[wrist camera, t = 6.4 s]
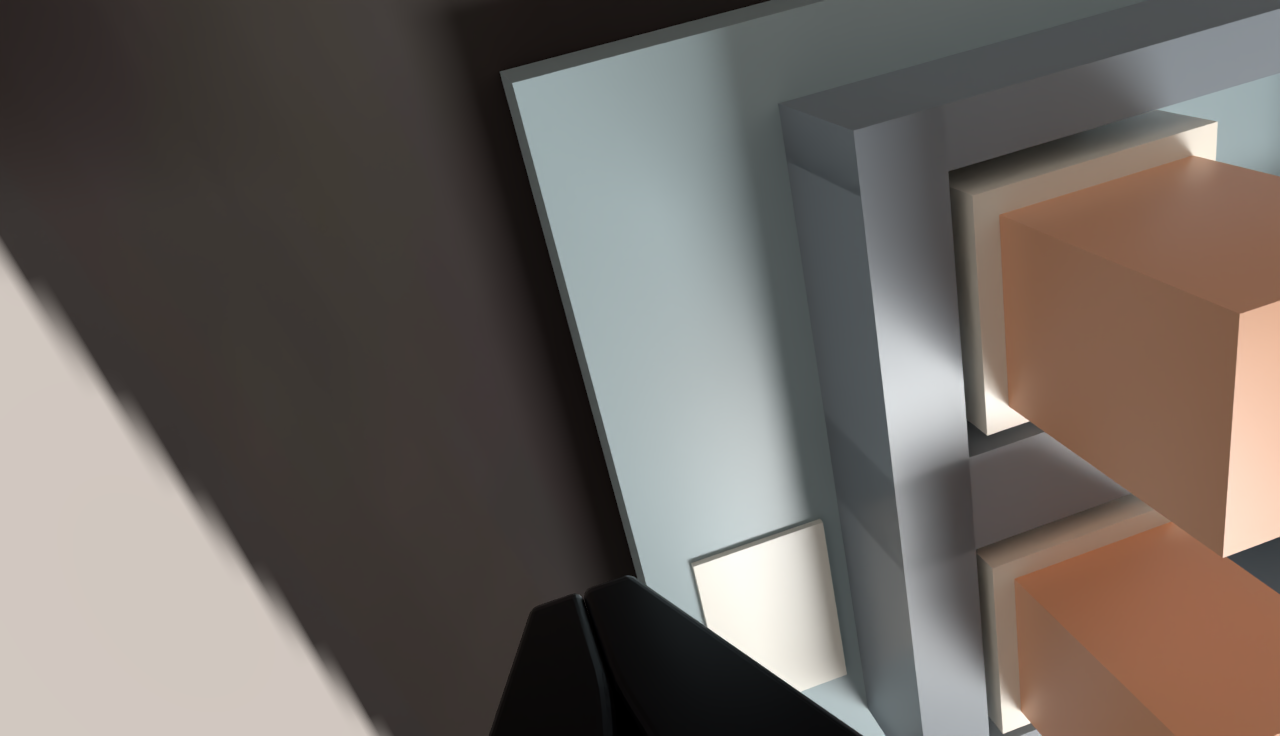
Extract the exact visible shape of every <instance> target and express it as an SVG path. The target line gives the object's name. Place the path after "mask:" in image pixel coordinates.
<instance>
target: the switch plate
mask: <svg viewBox="0 0 1280 736" xmlns="http://www.w3.org/2000/svg"><path fill="white" fill-rule="evenodd" d="M500 75H501V79H502V83H503V86H504V90H505V94H506V97H507V101H508V105H509V109H510V112H511V116H512V120H513V123H514V127H515V131H516V134H517V138H518V142H519V145H520V149H521V153H522V156H523V160H524V164H525V167H526V171H527V175H528V178H529V182H530V186H531V189H532V193H533V197H534V200H535V204H536V208H537V211H538V215H539V219H540V222H541V226H542V230H543V233H544V237H545V241H546V244H547V248H548V252H549V255H550V259H551V263H552V266H553V270H554V274H555V277H556V281H557V285H558V289H559V292H560V296H561V300H562V303H563V307H564V311H565V314H566V318H567V322H568V325H569V329H570V333H571V336H572V340H573V344H574V347H575V351H576V355H577V358H578V362H579V366H580V369H581V373H582V377H583V380H584V384H585V388H586V391H587V395H588V399H589V402H590V406H591V410H592V413H593V417H594V421H595V424H596V428H597V432H598V435H599V439H600V443H601V446H602V450H603V454H604V457H605V461H606V465H607V469H608V472H609V476H610V480H611V483H612V487H613V491H614V494H615V498H616V502H617V505H618V509H619V513H620V516H621V520H622V524H623V527H624V531H625V535H626V538H627V542H628V546H629V549H630V553H631V557H632V560H633V564H634V568H635V571H636V575H637V579H638V580H640V581H641V582H643V583H644V584H645V585H647V586H648V587H650V588H651V589H653V590H654V591H655V592H657V593H658V594H660V595H661V596H663V597H664V598H666V599H667V600H668V601H670V602H671V603H673V604H674V605H676V606H677V607H679V608H680V609H681V610H683V611H684V612H686V613H687V614H689V615H690V616H692V617H693V618H694V619H696V620H697V621H699V622H700V623H702V624H703V625H704V626H706V627H707V628H709V629H710V630H712V631H713V632H715V633H716V634H717V635H719V636H720V637H722V638H723V639H725V640H726V641H728V642H729V643H730V644H732V645H733V646H735V647H736V648H738V649H739V650H741V651H742V652H743V653H745V654H746V655H748V656H749V657H751V658H752V659H753V660H755V661H756V662H758V663H759V664H761V665H762V666H764V667H765V668H766V669H768V670H769V671H771V672H772V673H774V674H775V675H777V676H778V677H779V678H781V679H782V680H784V681H785V682H787V683H788V684H789V685H791V686H792V687H794V688H795V689H797V690H798V691H800V692H801V693H802V694H804V695H805V696H807V697H808V698H810V699H811V700H813V701H814V702H815V703H817V704H818V705H820V706H821V707H823V708H824V709H826V710H827V711H828V712H830V713H831V714H833V715H834V716H836V717H837V718H838V719H840V720H841V721H843V722H844V723H846V724H847V725H849V726H850V727H851V728H853V729H854V730H856V731H857V732H859V733H860V734H862V735H863V736H1042V735H1041V734H1040V733H1039V732H1038V731H1037V729H1036V728H1035V727H1034V726H1033V725H1032V724H1031V723H1030V724H1027V725H1025V726H1022V727H1020V728H1017V729H1014V730H1012V731H1009V732H1007V733H1004V734H1003V733H1002V732H1001V731H1000V730H999V728H998V727H997V726H996V725H995V723H994V722H993V721H992V720H991V718H990V717H989V716H988V710H987V696H986V682H985V668H984V655H983V641H982V627H981V613H980V600H979V586H978V572H977V559H976V549H978V548H981V547H984V546H987V545H990V544H992V543H995V542H998V541H1001V540H1003V539H1006V538H1009V537H1012V536H1015V535H1017V534H1020V533H1023V532H1026V531H1029V530H1031V529H1034V528H1037V527H1040V526H1043V525H1045V524H1048V523H1051V522H1054V521H1056V520H1059V519H1062V518H1065V517H1068V516H1070V515H1073V514H1076V513H1079V512H1082V511H1084V510H1087V509H1090V508H1093V507H1096V506H1098V505H1101V504H1104V503H1107V502H1110V501H1112V500H1115V499H1118V498H1121V497H1123V496H1126V495H1129V494H1132V493H1130V492H1129V491H1127V490H1126V489H1125V488H1123V487H1122V486H1120V485H1119V484H1117V483H1116V482H1115V481H1113V480H1112V479H1110V478H1109V477H1108V476H1106V475H1105V474H1103V473H1102V472H1101V471H1099V470H1098V469H1096V468H1095V467H1093V466H1092V465H1091V464H1089V463H1088V462H1086V461H1085V460H1084V459H1082V458H1081V457H1079V456H1078V455H1077V454H1075V453H1074V452H1072V451H1071V450H1069V449H1068V448H1067V447H1065V446H1064V445H1062V444H1061V443H1060V442H1058V441H1057V440H1055V439H1054V438H1053V437H1051V436H1050V435H1048V434H1047V433H1045V432H1044V431H1043V430H1041V429H1040V428H1038V427H1037V426H1036V425H1034V424H1033V423H1031V422H1030V421H1029V422H1026V423H1023V424H1020V425H1017V426H1014V427H1011V428H1008V429H1005V430H1003V431H1000V432H997V433H994V434H991V435H988V436H987V435H986V434H985V433H983V432H982V431H981V430H979V429H978V428H977V427H976V426H974V425H973V424H972V423H971V422H969V421H968V420H967V419H966V407H965V394H964V380H963V366H962V353H961V339H960V325H959V311H958V298H957V284H956V270H955V256H954V243H953V229H952V215H951V201H950V188H949V174H948V171H951V170H955V169H958V168H962V167H965V166H968V165H972V164H975V163H978V162H982V161H985V160H988V159H992V158H995V157H999V156H1002V155H1005V154H1009V153H1012V152H1015V151H1019V150H1022V149H1026V148H1029V147H1032V146H1036V145H1039V144H1042V143H1046V142H1049V141H1052V140H1056V139H1059V138H1063V137H1066V136H1069V135H1073V134H1076V133H1079V132H1083V131H1086V130H1090V129H1093V128H1096V127H1100V126H1103V125H1106V124H1110V123H1113V122H1116V121H1120V120H1123V119H1127V118H1130V117H1133V116H1137V115H1140V114H1143V113H1147V112H1150V111H1154V110H1161V111H1166V112H1171V113H1176V114H1182V115H1187V116H1192V117H1197V118H1202V119H1207V120H1212V121H1217V122H1218V128H1217V147H1216V161H1218V162H1222V163H1226V164H1231V165H1235V166H1239V167H1243V168H1247V169H1251V170H1255V171H1259V172H1264V173H1268V174H1272V175H1276V176H1280V0H770V1H766V2H763V3H759V4H755V5H751V6H747V7H744V8H740V9H736V10H732V11H728V12H725V13H721V14H717V15H713V16H709V17H706V18H702V19H698V20H694V21H690V22H686V23H683V24H679V25H675V26H671V27H667V28H664V29H660V30H656V31H652V32H648V33H645V34H641V35H637V36H633V37H629V38H626V39H622V40H618V41H614V42H610V43H606V44H603V45H599V46H595V47H591V48H587V49H584V50H580V51H576V52H572V53H568V54H565V55H561V56H557V57H553V58H549V59H545V60H542V61H538V62H534V63H530V64H526V65H523V66H519V67H515V68H511V69H507V70H504V71H500ZM1227 558H1229V559H1230V560H1232V561H1233V562H1235V563H1236V564H1237V565H1239V566H1240V567H1242V568H1243V569H1244V570H1246V571H1247V572H1249V573H1250V574H1252V575H1253V576H1254V577H1256V578H1257V579H1259V580H1260V581H1261V582H1263V583H1264V584H1266V585H1267V586H1269V587H1270V588H1271V589H1273V590H1274V591H1276V592H1277V593H1279V594H1280V537H1278V538H1275V539H1272V540H1270V541H1267V542H1264V543H1262V544H1259V545H1256V546H1254V547H1251V548H1248V549H1246V550H1243V551H1240V552H1238V553H1235V554H1232V555H1230V556H1227Z"/></svg>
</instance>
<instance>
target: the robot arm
mask: <svg viewBox="0 0 1280 736" xmlns="http://www.w3.org/2000/svg"><path fill="white" fill-rule="evenodd" d="M584 600H585V602H584ZM584 600H583V598H582V597H581V596H580V595H579V594H570V595H567V596H565V597H562V598H559V599H556V600H553V601H550V602H547V603H544V604H541V605H538V606H537V607H535V608H533V610H532V611H531V612H530V614H529V617H528V620H527V623H526V626H525V629H524V632H523V635H522V638H521V641H520V644H519V647H518V650H517V653H516V656H515V659H514V662H513V665H512V668H511V671H510V674H509V677H508V680H507V683H506V686H505V689H504V692H503V695H502V698H501V701H500V704H499V707H498V710H497V713H496V716H495V719H494V722H493V725H492V728H491V731H490V734H489V736H863V735H862V734H860V733H859V732H857V731H856V730H854V729H853V728H851V727H850V726H849V725H847V724H846V723H844V722H843V721H841V720H840V719H838V718H837V717H836V716H834V715H833V714H831V713H830V712H828V711H827V710H826V709H824V708H823V707H821V706H820V705H818V704H817V703H815V702H814V701H813V700H811V699H810V698H808V697H807V696H805V695H804V694H802V693H801V692H800V691H798V690H797V689H795V688H794V687H792V686H791V685H789V684H788V683H787V682H785V681H784V680H782V679H781V678H779V677H778V676H777V675H775V674H774V673H772V672H771V671H769V670H768V669H766V668H765V667H764V666H762V665H761V664H759V663H758V662H756V661H755V660H753V659H752V658H751V657H749V656H748V655H746V654H745V653H743V652H742V651H741V650H739V649H738V648H736V647H735V646H733V645H732V644H730V643H729V642H728V641H726V640H725V639H723V638H722V637H720V636H719V635H717V634H716V633H715V632H713V631H712V630H710V629H709V628H707V627H706V626H704V625H703V624H702V623H700V622H699V621H697V620H696V619H694V618H693V617H692V616H690V615H689V614H687V613H686V612H684V611H683V610H681V609H680V608H679V607H677V606H676V605H674V604H673V603H671V602H670V601H668V600H667V599H666V598H664V597H663V596H661V595H660V594H658V593H657V592H655V591H654V590H653V589H651V588H650V587H648V586H647V585H645V584H644V583H643V582H641V581H640V580H638V579H637V578H635V577H633V576H629V575H627V576H623V577H620V578H617V579H614V580H611V581H608V582H605V583H602V584H599V585H597V586H594V587H591V588H589V589H588V590H587V591H586V592H585V595H584ZM585 603H586V605H585ZM586 607H587V608H586ZM587 610H588V611H587ZM588 613H589V614H588Z"/></svg>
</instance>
